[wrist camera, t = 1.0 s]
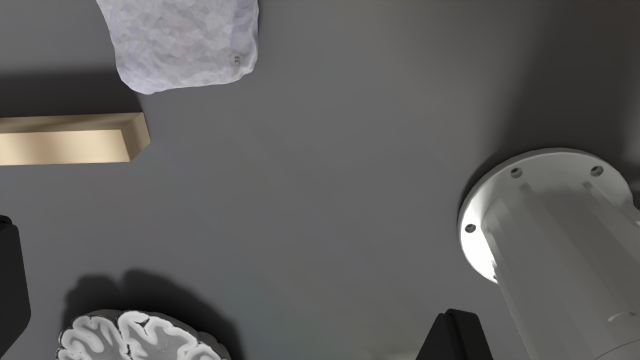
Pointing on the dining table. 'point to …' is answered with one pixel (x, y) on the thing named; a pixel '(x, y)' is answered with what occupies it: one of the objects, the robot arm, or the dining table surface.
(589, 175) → the robot arm
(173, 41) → the stone block
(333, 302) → the dining table surface
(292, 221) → the dining table surface
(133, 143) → the blocks
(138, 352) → the brain slice
